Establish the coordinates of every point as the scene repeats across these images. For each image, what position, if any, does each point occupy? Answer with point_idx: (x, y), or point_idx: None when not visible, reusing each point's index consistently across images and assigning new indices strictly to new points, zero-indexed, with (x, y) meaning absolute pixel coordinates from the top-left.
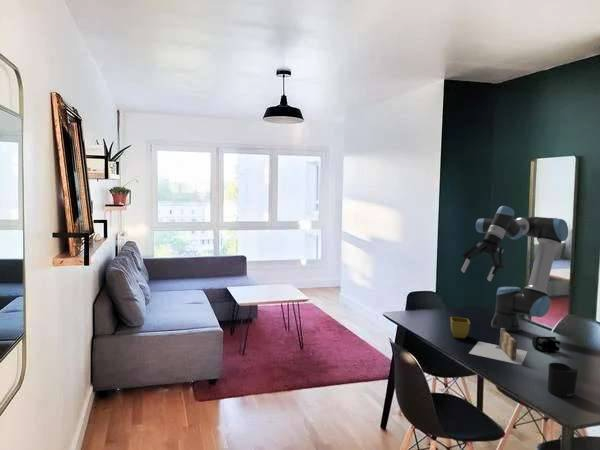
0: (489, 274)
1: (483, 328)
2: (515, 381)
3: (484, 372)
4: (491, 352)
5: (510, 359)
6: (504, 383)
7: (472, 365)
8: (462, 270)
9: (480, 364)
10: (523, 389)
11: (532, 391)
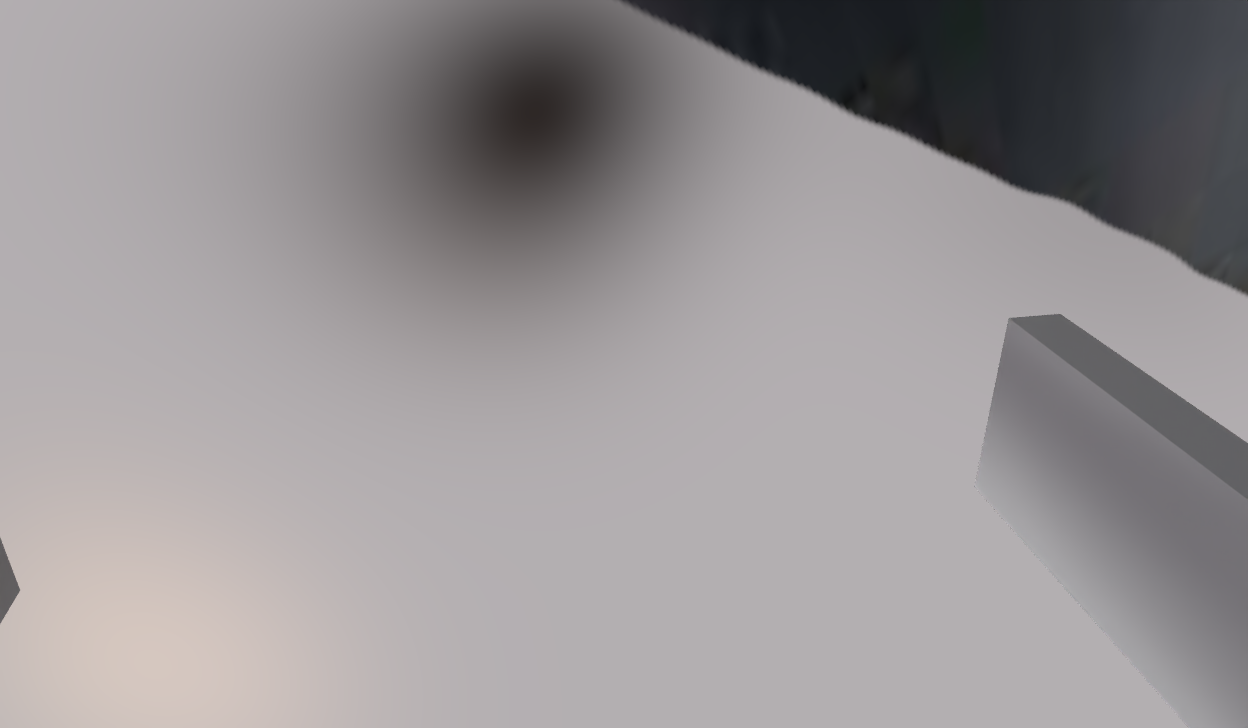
0: (1086, 592)
1: None
2: (1137, 110)
3: (917, 128)
4: None
5: None
6: (1063, 186)
7: (805, 77)
8: (5, 586)
9: (851, 9)
10: (1181, 181)
11: (1236, 169)
